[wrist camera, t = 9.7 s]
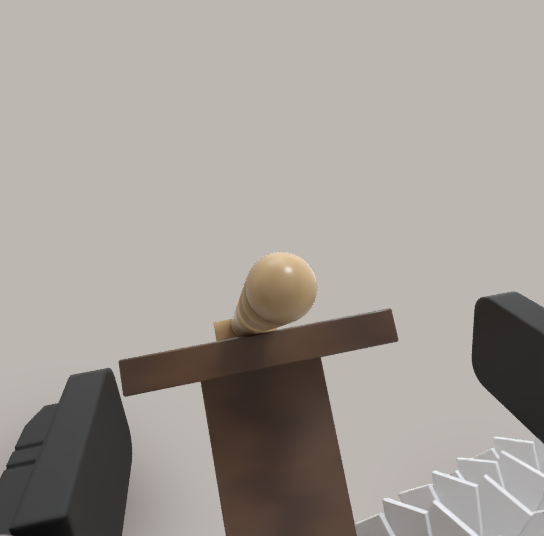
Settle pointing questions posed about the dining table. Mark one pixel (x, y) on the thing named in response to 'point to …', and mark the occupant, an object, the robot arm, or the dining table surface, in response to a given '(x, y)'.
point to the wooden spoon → (271, 296)
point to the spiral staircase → (472, 498)
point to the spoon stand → (270, 421)
